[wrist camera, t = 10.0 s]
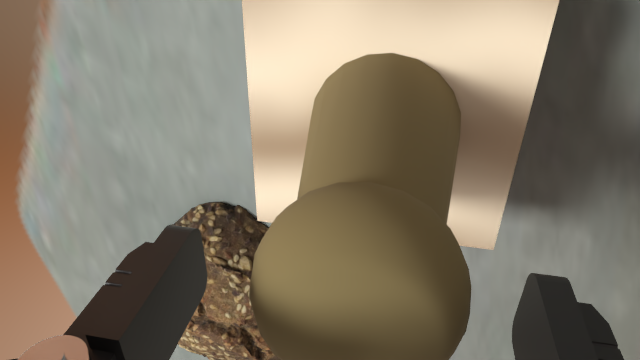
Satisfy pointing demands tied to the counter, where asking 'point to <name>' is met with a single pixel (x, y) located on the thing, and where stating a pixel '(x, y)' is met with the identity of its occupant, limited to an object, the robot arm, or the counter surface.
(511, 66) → the ash block
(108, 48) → the counter surface
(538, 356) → the robot arm
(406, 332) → the olive knobbed peg
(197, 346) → the bread roll
